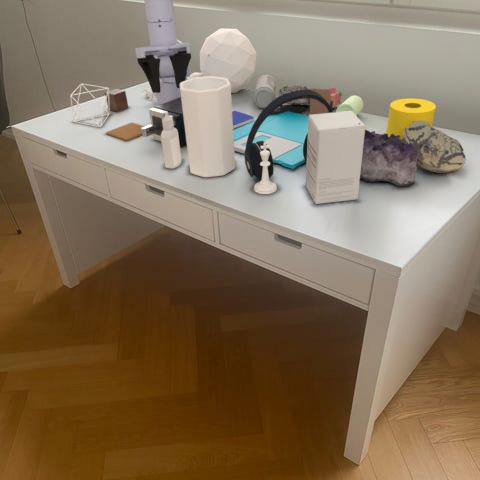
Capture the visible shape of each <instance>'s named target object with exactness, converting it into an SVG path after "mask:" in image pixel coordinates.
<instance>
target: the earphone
mask: <svg viewBox="0 0 480 480" xmlns="http://www.w3.org/2000/svg"><path fill="white" fill-rule="evenodd" d="M303 98H312V99H315V100H318V101H319V102H321V103H322V104H324V105H325V106H326V108H327V109H328V112H329V113H334V112H335V111H334V110H333V108H331V106H330V105H329V104H328V102H327V101H326V100H325V98H323V97H322V96H321V95H320V94H318V93H317V92H315V91H312V90H298V91H293V92H290V93H286V94H284V95H281V96H279V95H278V96H277V97H276V98H274V100H273V101H272V102H271V103H270V104H269V105H268V106H267V107H266V108H263V110H261V112H260V113H259V115H258V116H257V118H256V119H255V120H254V121H255V123H254V124H253V126H252V128H251V131H250V133H249V136H248V139H247V143H246V149H245V154H243V155H244V164H245V168H246V171H247V173H248V175H249V177H250V178H252V179H253V178H256V179H257V180H259V182H260V181H261V180H262V171H263V166H261V165H260V163H261V162H262V158H261V155H260V152H261V151H263V150H264V149H261V146H264V141H258V142H256V143H253V140H254V137H255V135H256V133H257V131H258V129H259V127H260V126H261V124H262V123H263V122H264V120H265V119H266V118H267V117H268V116H269V115H270V114H271V113H272V112H273V111H274V110H275V109H277V108H278V107H280V106H281V105H286V104H287V102H290V101H293V100H297V99H303ZM307 139H308V133H307V135H306V137H305V141H304V145H303V156H304V159H305V161H306V162H305V163H307ZM266 145H267V144H266ZM266 150H267V151H269V152H270V155H269V158H268V161H269V162H270V165H269V166H267V167H268V175H269V179H270V178H272V177H273V176H274V163H273V158H272V154H271V151H270V149H269V148H266Z"/></svg>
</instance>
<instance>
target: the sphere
mask: <svg viewBox="0 0 480 480" xmlns="http://www.w3.org/2000/svg"><path fill="white" fill-rule="evenodd" d="M257 55H258V53H257V51H256V49H255V48H254V46H253V44H252V42H251V41H250V39H249V38H248V37H247V36H246V35H245V34H243V33H242V32H241V31H240V30H239V29H237V28H219V29H217V30H215V32H213V33H211V34H210V35H209V36H207V37H205V40H204V42H203V44H202V47H201V49H200V50H199V70H200V73H202V74H203V76H204V77H205V76H216V77H222V78H227V79H228V80H229V82H230V85H231V94H236V93H238V92H239V91H241V90H243V89H244V88H247V86H249V85H250V83H251V81H252V80H253V77H254V74H255V73H256V67H257V66H256V65H257ZM203 76H202V77H203Z"/></svg>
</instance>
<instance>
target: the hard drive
mask: <svg viewBox="0 0 480 480" xmlns="http://www.w3.org/2000/svg"><path fill="white" fill-rule="evenodd" d="M232 119H233V130H235V129H237V128H240V127H242V126H244V125H247V124H249V123H251V122H254V121H255V120H254V119H255V118H254V116H252V115H250V114H247V113H244V112H241V111H237V110H232Z"/></svg>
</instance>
